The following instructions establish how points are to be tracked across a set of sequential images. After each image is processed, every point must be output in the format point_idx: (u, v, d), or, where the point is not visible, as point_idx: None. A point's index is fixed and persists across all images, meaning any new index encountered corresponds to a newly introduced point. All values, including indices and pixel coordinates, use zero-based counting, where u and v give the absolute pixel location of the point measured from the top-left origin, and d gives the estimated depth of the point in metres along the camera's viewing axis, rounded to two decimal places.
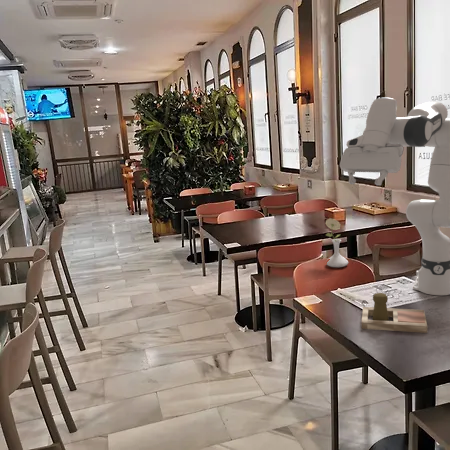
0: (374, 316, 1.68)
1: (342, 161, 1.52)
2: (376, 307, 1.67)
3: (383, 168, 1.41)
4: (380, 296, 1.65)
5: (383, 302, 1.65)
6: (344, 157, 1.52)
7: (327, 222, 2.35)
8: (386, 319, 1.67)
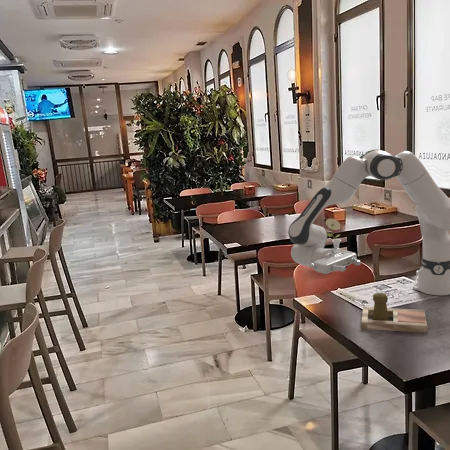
0: (374, 316, 1.68)
1: None
2: (376, 307, 1.67)
3: (331, 271, 1.75)
4: (380, 296, 1.65)
5: (383, 302, 1.65)
6: None
7: (327, 222, 2.35)
8: (386, 319, 1.67)
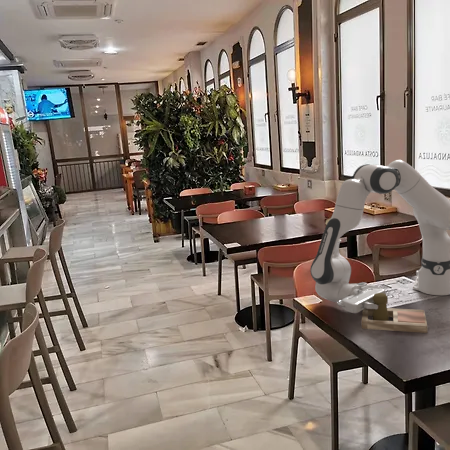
0: (374, 316, 1.68)
1: None
2: None
3: None
4: (380, 296, 1.65)
5: (383, 302, 1.65)
6: None
7: (327, 222, 2.35)
8: (386, 319, 1.67)
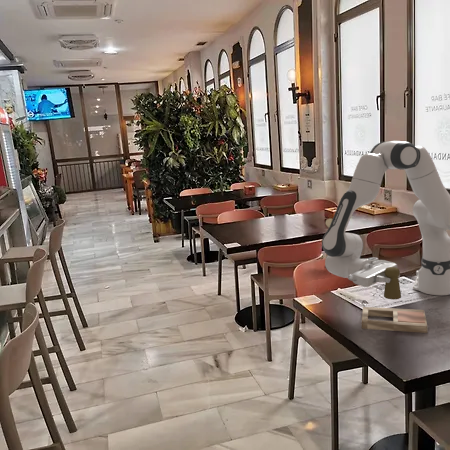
0: (386, 290, 1.65)
1: None
2: None
3: (372, 284, 1.64)
4: (392, 270, 1.62)
5: (395, 276, 1.62)
6: None
7: (327, 222, 2.35)
8: (398, 293, 1.63)
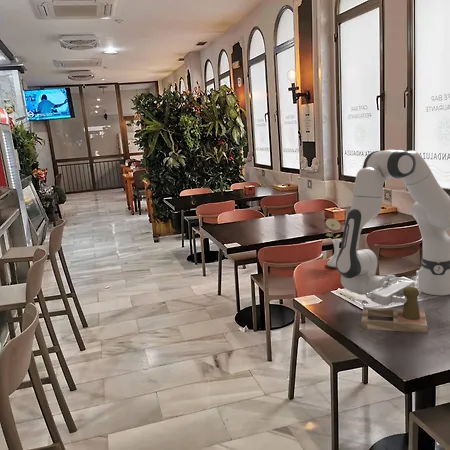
0: (405, 310, 1.64)
1: None
2: (407, 301, 1.63)
3: (391, 302, 1.63)
4: (411, 290, 1.62)
5: (414, 296, 1.61)
6: None
7: (327, 222, 2.35)
8: (417, 313, 1.63)
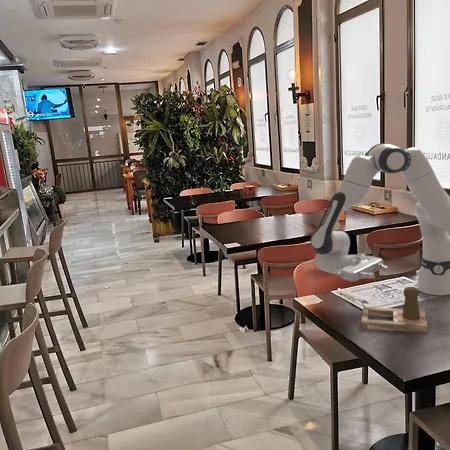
0: (405, 311, 1.64)
1: None
2: (407, 301, 1.63)
3: (359, 278, 1.73)
4: (411, 290, 1.61)
5: (415, 296, 1.61)
6: None
7: None
8: (417, 314, 1.63)
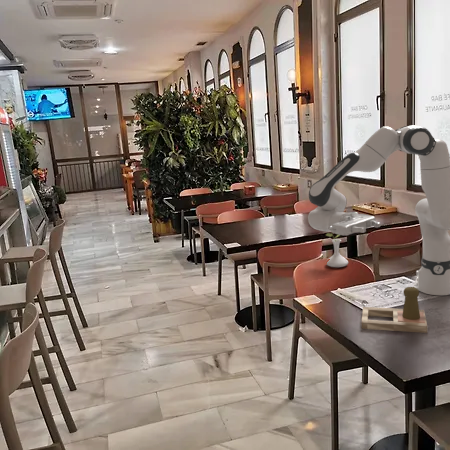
0: (405, 311, 1.64)
1: None
2: (407, 301, 1.63)
3: (351, 233, 1.72)
4: (411, 290, 1.61)
5: (414, 296, 1.61)
6: None
7: None
8: (417, 314, 1.63)
